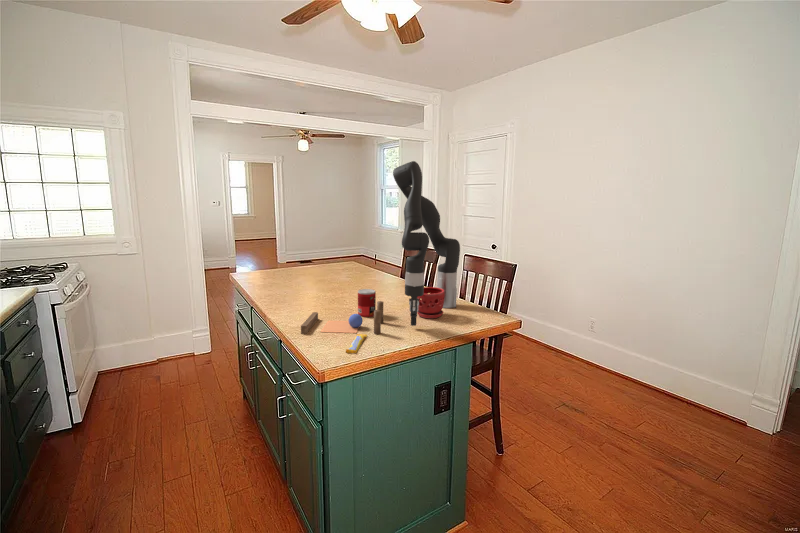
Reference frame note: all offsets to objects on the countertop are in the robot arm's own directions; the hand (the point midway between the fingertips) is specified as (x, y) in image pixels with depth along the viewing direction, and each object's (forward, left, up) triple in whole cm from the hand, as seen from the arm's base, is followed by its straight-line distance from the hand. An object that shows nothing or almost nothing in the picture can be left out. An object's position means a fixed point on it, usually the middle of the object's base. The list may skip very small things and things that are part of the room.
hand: (413, 325), depth 151 cm
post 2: (+14, +6, -2) cm, 15 cm away
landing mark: (+29, 0, -2) cm, 29 cm away
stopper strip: (+42, 0, -2) cm, 42 cm away
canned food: (+21, -17, -2) cm, 27 cm away
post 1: (+14, -6, -2) cm, 15 cm away
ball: (+23, 0, +1) cm, 23 cm away
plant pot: (-7, -18, -2) cm, 19 cm away
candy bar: (+20, +18, -2) cm, 27 cm away
